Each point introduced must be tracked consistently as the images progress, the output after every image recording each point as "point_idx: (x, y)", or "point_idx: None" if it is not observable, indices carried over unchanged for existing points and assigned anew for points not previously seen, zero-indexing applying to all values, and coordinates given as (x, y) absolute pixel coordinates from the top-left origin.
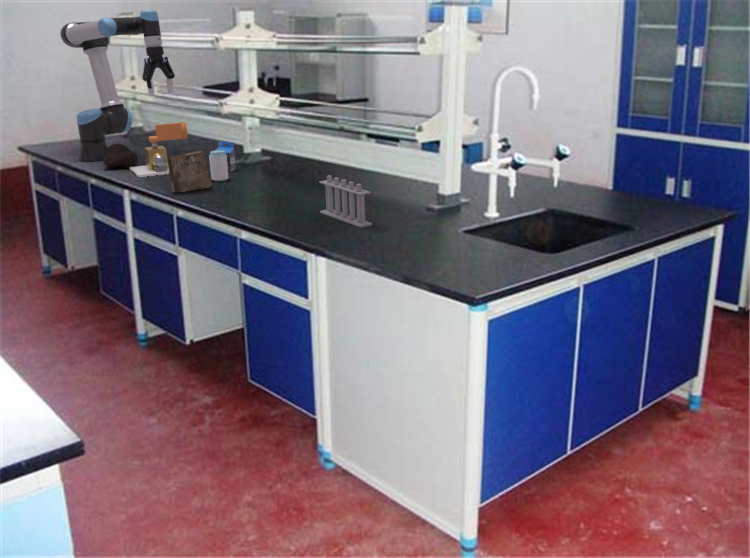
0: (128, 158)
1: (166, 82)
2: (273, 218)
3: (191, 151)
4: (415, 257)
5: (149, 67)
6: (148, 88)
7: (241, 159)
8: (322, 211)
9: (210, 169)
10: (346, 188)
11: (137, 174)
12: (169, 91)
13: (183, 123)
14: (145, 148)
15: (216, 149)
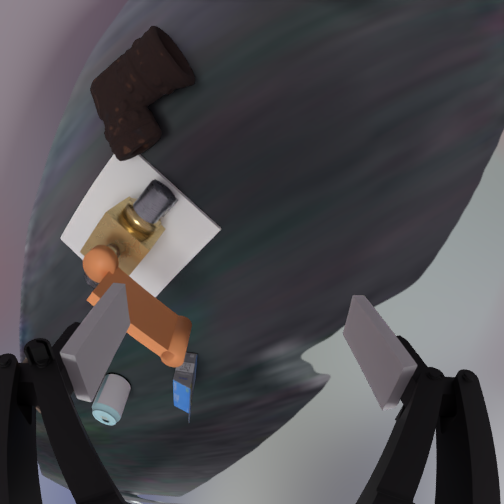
0: (110, 146)
1: (389, 346)
2: (47, 437)
3: (38, 408)
4: (55, 473)
5: (32, 501)
6: (76, 328)
7: (308, 346)
8: None
9: (101, 386)
10: None
11: (66, 227)
12: (354, 316)
13: (165, 362)
14: (96, 226)
15: (181, 385)
